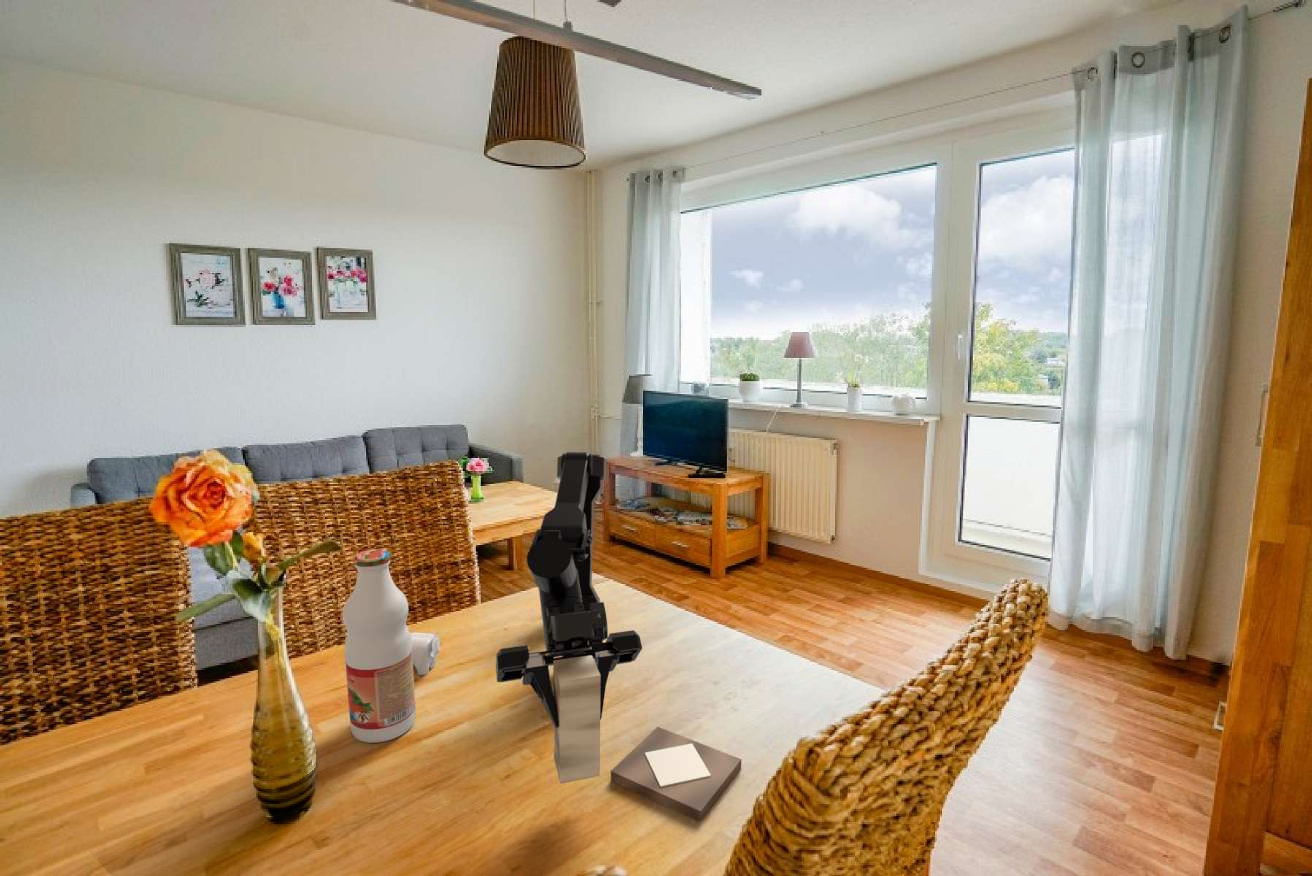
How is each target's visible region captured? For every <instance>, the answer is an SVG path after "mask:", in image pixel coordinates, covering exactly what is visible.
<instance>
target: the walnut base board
mask: <svg viewBox="0 0 1312 876" xmlns="http://www.w3.org/2000/svg"><path fill="white" fill-rule="evenodd" d="M741 770H742V758H739V757H736V756H735V755H732V754H729V753H727V752H725V751H721V750H718V749H717V748H713V747H712V746H709V745H705V744H703V743H700V742H698V741H697V740H692V739H690V738H688V737H685V736H684V735H683V736H682V735H679V734H677V733H675V732H672V731H669V730H667V729H665V728H662V727H659V726H656V727H655V728H654V729H653V730H652V731H651V732H650V733H649V734H648V735H647V736H646V737H645V738H644V739H643V740H642V741H641V742H639V744H637V745H636V746H635V747H634V748H633V749H632V750H631V751H630V752H629V753H628V754H627V755H626V756H625V757H624V758H622V759H621V761H620V762H618V763H617V764H616V765H615V766H614V767H613V768H612V769H611V770H610V781H611V782H612V783H615V784H618V785H619V786H622V787H623V788H626V789H628V790H630V791H632V792H635V793H637V794H639V795H641V796H643V797H645V798H647V799H650V800H652V801H654V802H656V803H659V804H660V805H663V806H665V807H667V808H669V809H672V810H673V811H676V812H678V813H680V814H682V815H685V816H687V817H689V818H691V819H694V820H696V821H698V822H702V821H703V819H705V817H706V815H707V814H708V813H709V812H710V810H711V809H712V808H713V807H714V805H715V804H716V802H717V801H718V799H720V797H721V796H722V794H723V793H724V792H725V791H726V789H727V788H728V787H729V785H730V784H731V783H732V781H733V780H734V779H735V777H736V776H737V775H738V774H739V772H740V771H741Z"/></svg>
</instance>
